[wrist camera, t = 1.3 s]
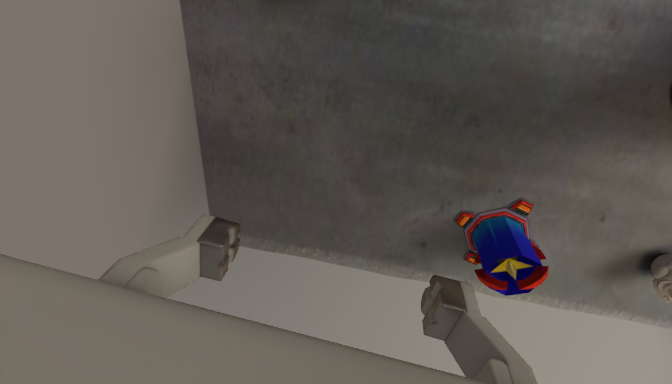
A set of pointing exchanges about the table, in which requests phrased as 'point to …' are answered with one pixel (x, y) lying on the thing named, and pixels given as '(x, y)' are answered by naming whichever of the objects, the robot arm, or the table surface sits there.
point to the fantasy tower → (504, 248)
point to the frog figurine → (663, 276)
